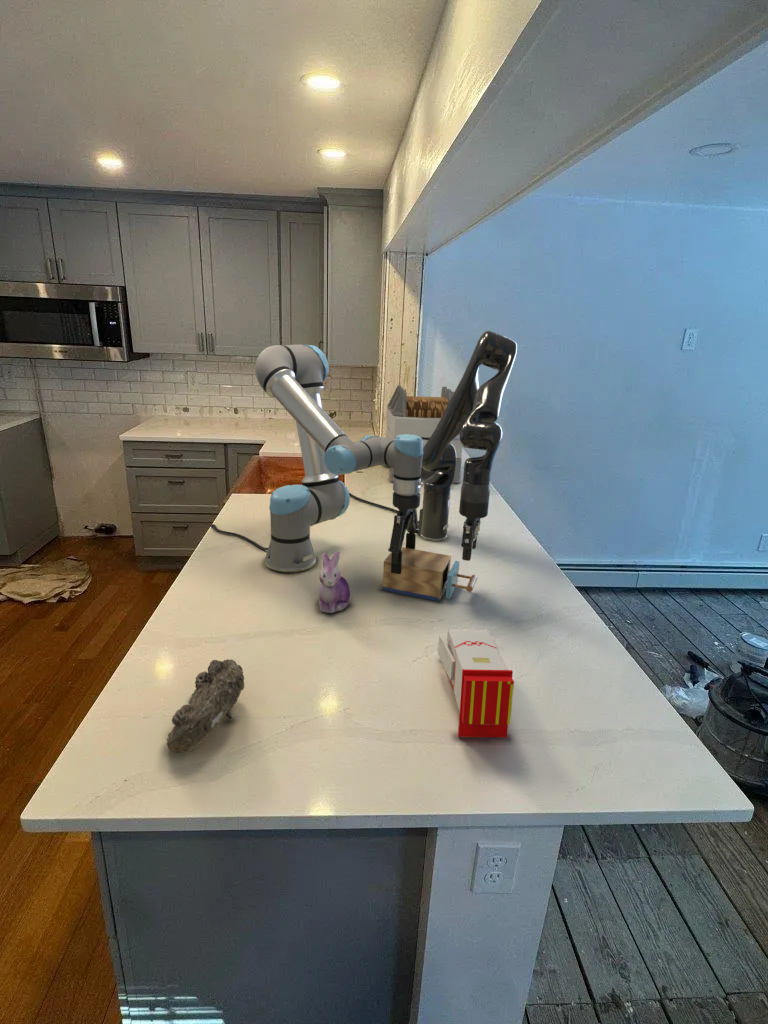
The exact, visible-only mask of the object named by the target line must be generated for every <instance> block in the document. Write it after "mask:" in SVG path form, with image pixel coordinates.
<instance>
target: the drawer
mask: <svg viewBox="0 0 768 1024" xmlns="http://www.w3.org/2000/svg"><path fill="white" fill-rule="evenodd" d="M459 570H460V561H459V560H455V561H454V563H453V565H452V566H451V567H450V572H449V574H448V571H449V563H448V565H447V566H446V568H445V570H444V572H443V573H442V584H441V593H442V591H443V589H444V587H445V585H446V583H447V587H446V589H445V599H447V600H451V597H452V595H453V593H454V591H455V589H456V588H458V589H464V590H466V592H468V593H471V592H473V590H474V588H475V585H476V583H477V580H478V576H477V575H476V574H472V575H465V574H461V573H459V572H460V571H459ZM459 578H464V579H468V583H467V584H466V585H461V584H458V581H459Z"/></svg>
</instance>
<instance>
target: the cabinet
mask: <svg viewBox="0 0 768 1024" xmlns="http://www.w3.org/2000/svg"><path fill="white" fill-rule="evenodd" d="M401 551H402V566H401V574H396V573H391V559H392V552H389V554H388V555H387V556H386V558H385V559H384V560H383V569H382V588H381V589H382V591H385V592H390V593H395V594H401V595H405V596H410V597H415V598H420V599H424V600H425V599H426V600H430V601H435V602H441V599H442V597H443V595H444V593H445V592H446V587H447V583H446V585H445V587H444V589H443V591H442V593H441V584H442V573H443V572H444V570H445V568H446V566H447V565H448V563H449V571H448V574H449V572H450V570H451V562H452V555H449V554H444V553H438V552H432V551H426V550H421V549H416V548H415V549H410V548H406V547H405V546H404V547H403V546H402V548H401Z"/></svg>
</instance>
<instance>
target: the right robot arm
mask: <svg viewBox="0 0 768 1024" xmlns="http://www.w3.org/2000/svg"><path fill="white" fill-rule="evenodd" d="M517 352H518V344H517V342H516V341H515V340H513V339H512V338H509V337H507V336H504V335H501V334H499V333H497V332H495V331H492V330H485V331H484V332H483V333H482V334H481V335H480V337H479V338H478V340H477V342H476V345H475V346H474V348H473V351H472V353H471V356H470V359H469V361H468V363H467V365H466V369H465V370H464V372H463V375H462V377H461V379H460V381H459V382H458V385H457V386H456V388H455V390H454V394H453V395H452V397H451V399H450V401H449V403H448V405H447V407H446V410H445V412H444V414H443V416H442V418H441V420H440V421H439V423H438V425H437V427H436V429H435V431H434V432H433V434H432V435H431V437H430V438H429V440H428V441H427V443H426V444H425V446H424V448H423V459H422V469H423V470H424V471H426V472H430V473H431V472H432V473H433V472H434V473H433V474H432V475H431V476H429V477H427V478H426V479H425V480H424V482H423V493H422V496H423V497H422V506H421V508H420V509H419V516H418V529H417V530H419V534H417V535H418V536H420V538H421V539H424V540H426V541H432V542H440V541H444V540H446V539H447V538H448V528H449V526H450V525H449V517H450V516H449V514H450V504H451V494H452V493H451V491H452V486H453V484H454V483H453V481H454V475H455V468H456V450H455V448H454V446H453V445H452V444H450V442H451V441H452V440H453V439H454V438H456V437H457V436H458V435H459V434H460V435H459V439H460V443H461V444H462V448H465V449H467V450H468V449H469V450H477V451H485V453H484V454H483V455H479V456H472V457H468V458H466V459H465V460H464V464H463V474H462V475H463V476H462V483H461V487H460V497H459V509H458V513H459V515H461V516H462V517H465V521H463V526H462V538H461V544H460V546H461V548H462V556H461V559H462V560H463V561H467V562H469V561H471V559H472V550H476V549H477V541H478V536H479V535H480V533H479V532H480V530H481V523H482V521H481V519H484V518H486V517H487V516H488V514H489V504H490V495H491V477H492V469H493V463H494V459H495V457H496V454H497V451H498V449H499V448H500V445H501V443H502V439H503V435H504V434H503V429H502V427H501V425H500V424H499V423H496V421H497V420H498V418H499V415H500V409H501V405H502V400H503V399H502V398H503V396H504V395H503V394H504V391H505V388H506V386H507V383H508V380H509V377H510V374H511V371H512V369H513V366H514V362H515V360H516V356H517ZM481 366H485V367H487V368H489V369H492V370H494V371H497V373H496V374H495V375H493V376H492V377H491V378H489V379H487V380H486V381H485V382H483V383H482V384H481V385H480V384H479V369H480V367H481ZM479 385H480V386H479ZM349 496H350V497H351V498H353V499H355V500H358V501H360V502H363V503H366V504H368V505H371V506H374V507H378V508H381V509H385V510H388V511H392V512H394V513H396V514H397V513H398V512H399V509H395V508H392V507H390V506H386V505H382V504H379V503H376V502H373V501H369V500H366V499H363V498H361V497H358V496H356V495H354V494H352V493H351V492H349Z"/></svg>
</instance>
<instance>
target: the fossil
mask: <svg viewBox="0 0 768 1024" xmlns="http://www.w3.org/2000/svg"><path fill="white" fill-rule="evenodd" d="M243 670H244V669H243V667H242V665H240V664H237V662H236V661H235V660H234V659H232V658H231V659H227V658H226V659H224V660H223V661H222V660H217V659H212V660H211V661H210V663H209V665H208V666H207V671H201V672H199V673H198V674H197V675H196V676H195V680H194V684H195V685H194V687H195V689H194V690H193V693H192V694H191V697H190V698H189V700H188V704H184V705H182V706H181V707H180V709H177V710H176V711H175V713H174V715H173V716H172V718H171V723H172V724H173V727H172V730H171V731H170V732H168V734H167V738H166V741H167V742H166V745H167V749H168V750H169V751H173V752H174V753H176V754H178V753H182V752H188V751H189V752H192V751H193V750H195V748H196V747H197V746H199V744H200V743H201V742H203V741H204V740H205V739H206V738H207V737H208V736H209V735H210V734H211V733H212V732H214V730H215V729H217V727H218V726H219V724H220V722H221V721H222V720H223V719H224V718H225V716H226V717H227V719H229V720H233V717H232V715H230V714H229V710H230V709H231V708H234V706H235V704H236V703H237V702H238V699H239V697H240V695H241V693H242V691H243V690H245V689H244V688H245V675H244V671H243Z"/></svg>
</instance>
